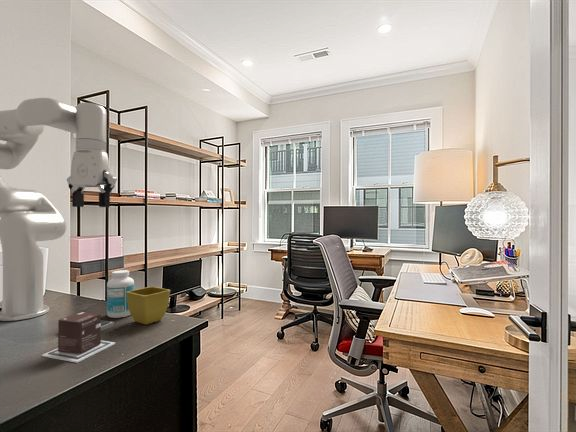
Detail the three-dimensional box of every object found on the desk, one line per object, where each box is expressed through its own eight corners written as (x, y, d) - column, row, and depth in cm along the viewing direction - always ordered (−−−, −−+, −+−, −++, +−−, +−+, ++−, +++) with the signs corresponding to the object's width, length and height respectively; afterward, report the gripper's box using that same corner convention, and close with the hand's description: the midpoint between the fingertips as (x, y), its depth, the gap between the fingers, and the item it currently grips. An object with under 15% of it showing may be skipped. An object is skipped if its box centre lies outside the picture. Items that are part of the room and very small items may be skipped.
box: (79, 355, 69) (79, 322, 68) (57, 352, 70) (57, 319, 70) (101, 344, 74) (101, 313, 74) (80, 341, 76) (80, 311, 76)
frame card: (42, 356, 69) (42, 354, 69) (83, 338, 78) (83, 337, 78) (77, 362, 66) (77, 360, 66) (115, 343, 75) (115, 342, 75)
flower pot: (152, 314, 97) (152, 285, 97) (171, 319, 93) (171, 289, 93) (125, 322, 90) (125, 291, 90) (144, 328, 85) (144, 296, 85)
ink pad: (58, 333, 81) (58, 328, 81) (88, 322, 90) (88, 317, 90) (85, 337, 79) (85, 332, 79) (114, 325, 87) (114, 321, 87)
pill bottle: (127, 309, 102) (128, 268, 102) (138, 314, 97) (138, 271, 97) (102, 315, 96) (103, 271, 96) (112, 320, 91) (113, 274, 91)
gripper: (56, 146, 89) (55, 206, 89) (104, 143, 84) (103, 206, 85) (80, 151, 96) (79, 207, 97) (125, 149, 92) (125, 207, 92)
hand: (91, 206), depth 91 cm, fingers open, 9 cm apart
